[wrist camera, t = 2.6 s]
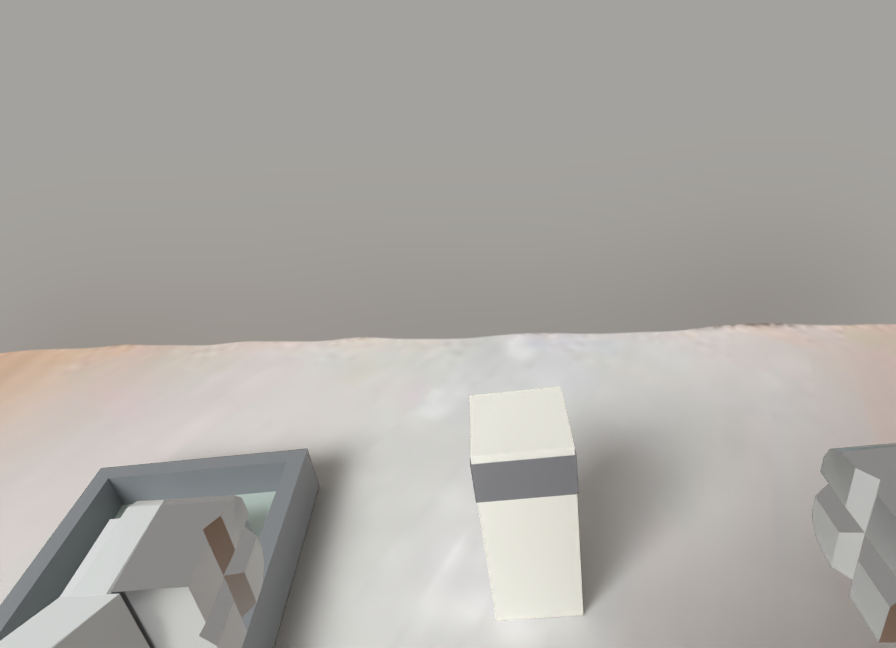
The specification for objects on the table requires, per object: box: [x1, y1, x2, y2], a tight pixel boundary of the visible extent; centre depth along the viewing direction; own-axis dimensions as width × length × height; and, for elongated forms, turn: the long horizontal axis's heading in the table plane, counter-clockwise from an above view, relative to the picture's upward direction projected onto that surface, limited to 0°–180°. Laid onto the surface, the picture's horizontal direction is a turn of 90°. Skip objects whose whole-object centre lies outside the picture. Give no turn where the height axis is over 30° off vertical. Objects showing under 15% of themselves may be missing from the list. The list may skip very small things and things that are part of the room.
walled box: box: [0, 449, 319, 648], centre depth 31 cm, size 13×16×3 cm
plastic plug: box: [469, 386, 583, 621], centre depth 28 cm, size 4×4×10 cm
